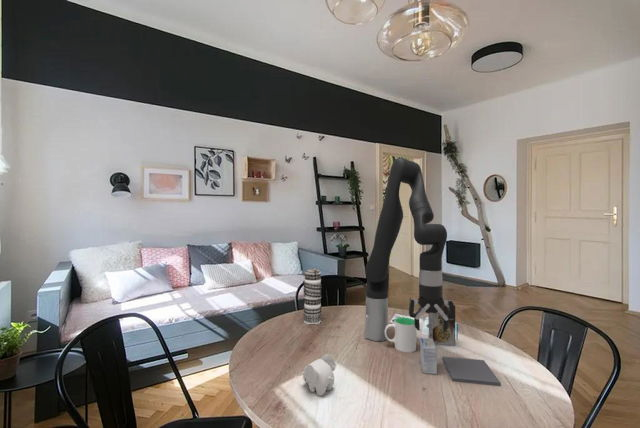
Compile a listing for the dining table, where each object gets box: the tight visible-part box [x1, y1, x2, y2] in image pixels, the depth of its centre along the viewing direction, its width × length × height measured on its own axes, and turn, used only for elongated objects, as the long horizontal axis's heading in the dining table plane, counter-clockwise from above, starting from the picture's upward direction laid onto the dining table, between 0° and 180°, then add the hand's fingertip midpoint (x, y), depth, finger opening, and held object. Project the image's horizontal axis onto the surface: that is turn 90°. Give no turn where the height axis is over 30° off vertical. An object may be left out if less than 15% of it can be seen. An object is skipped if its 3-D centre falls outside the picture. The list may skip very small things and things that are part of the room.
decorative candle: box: [302, 267, 323, 325], centre depth 144 cm, size 9×9×25 cm
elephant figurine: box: [298, 353, 337, 397], centre depth 91 cm, size 10×12×9 cm
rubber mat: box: [441, 356, 502, 387], centre depth 100 cm, size 14×14×1 cm
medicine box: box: [419, 337, 438, 375], centre depth 102 cm, size 8×4×9 cm, turn 168°
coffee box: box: [427, 303, 456, 346], centre depth 123 cm, size 9×6×16 cm
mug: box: [385, 316, 417, 353], centre depth 118 cm, size 12×8×10 cm
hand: (430, 329), depth 103 cm, fingers open, 8 cm apart
